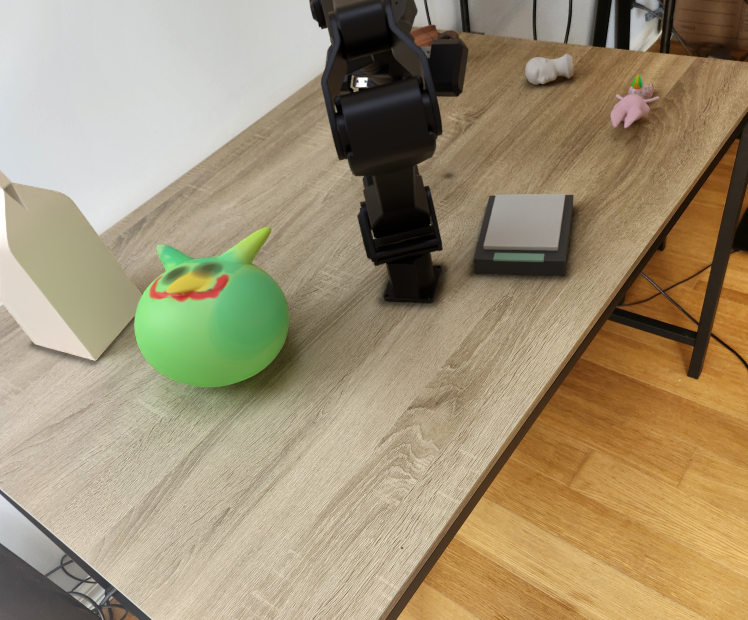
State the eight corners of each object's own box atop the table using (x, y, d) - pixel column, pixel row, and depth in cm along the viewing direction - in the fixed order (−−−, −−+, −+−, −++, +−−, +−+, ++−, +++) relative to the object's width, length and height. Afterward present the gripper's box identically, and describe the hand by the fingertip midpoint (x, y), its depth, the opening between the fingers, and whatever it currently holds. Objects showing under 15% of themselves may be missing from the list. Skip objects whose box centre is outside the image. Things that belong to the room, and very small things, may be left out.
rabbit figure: (621, 100, 103) (596, 137, 94) (626, 60, 99) (600, 95, 90) (663, 102, 100) (641, 141, 91) (670, 61, 96) (648, 97, 87)
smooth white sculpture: (523, 93, 110) (529, 70, 111) (571, 92, 107) (577, 68, 108) (519, 73, 106) (526, 49, 108) (569, 72, 103) (576, 47, 104)
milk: (147, 301, 92) (40, 135, 73) (95, 361, 86) (-36, 197, 67) (87, 288, 97) (-28, 130, 78) (34, 344, 91) (-105, 187, 72)
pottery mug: (400, 88, 118) (386, 40, 116) (415, 86, 126) (402, 41, 124) (462, 63, 113) (448, 13, 110) (473, 63, 121) (461, 16, 118)
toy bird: (148, 411, 78) (83, 328, 67) (191, 311, 89) (141, 225, 78) (288, 409, 74) (243, 320, 63) (316, 305, 84) (281, 213, 73)
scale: (564, 276, 79) (565, 257, 77) (474, 274, 82) (472, 255, 80) (573, 209, 86) (573, 190, 84) (490, 209, 90) (489, 191, 88)
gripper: (455, -33, 71) (490, 27, 85) (309, -22, 79) (364, 31, 93) (440, 73, 73) (477, 114, 87) (298, 74, 80) (354, 112, 94)
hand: (416, 90), depth 90 cm, fingers closed on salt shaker, 3 cm apart
